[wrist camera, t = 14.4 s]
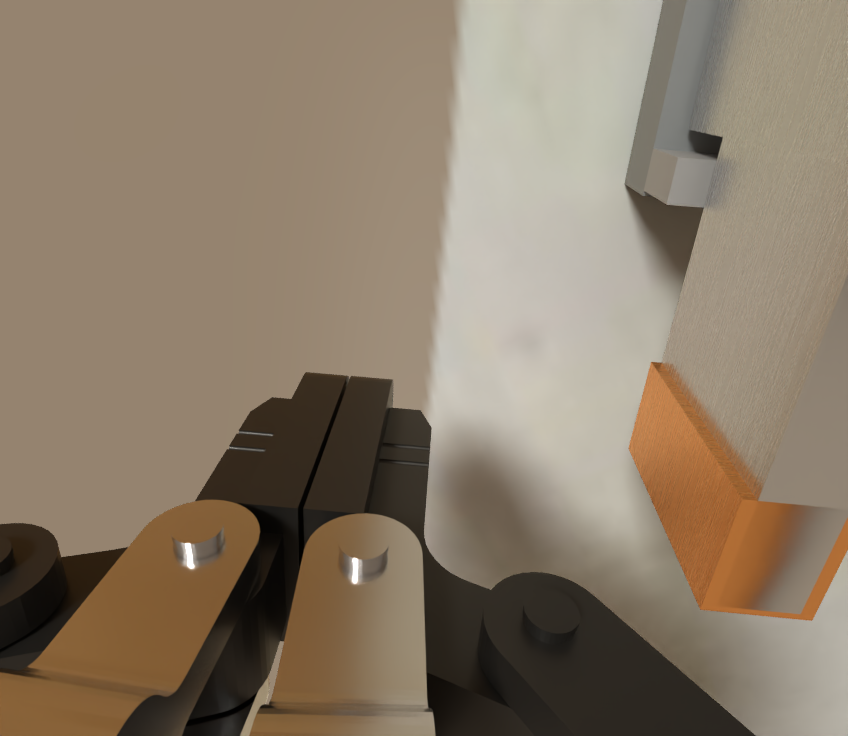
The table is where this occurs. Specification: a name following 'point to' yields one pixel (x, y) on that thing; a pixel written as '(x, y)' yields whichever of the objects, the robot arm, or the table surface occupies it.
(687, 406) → the grey orange-tipped blocky piece
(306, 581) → the robot arm
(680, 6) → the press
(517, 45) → the table surface
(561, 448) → the table surface
